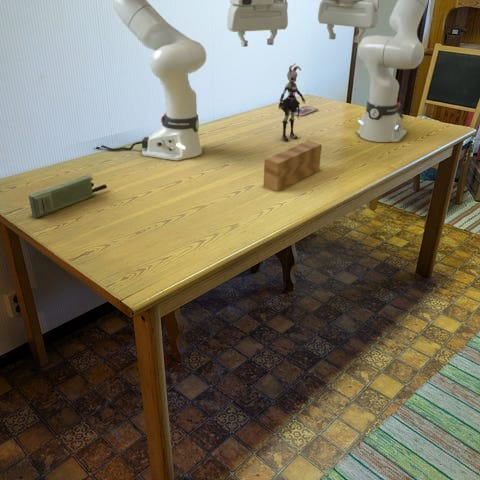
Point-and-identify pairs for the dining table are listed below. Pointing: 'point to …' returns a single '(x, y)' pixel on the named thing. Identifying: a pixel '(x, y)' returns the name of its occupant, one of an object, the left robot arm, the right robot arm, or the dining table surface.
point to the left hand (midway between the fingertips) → (257, 45)
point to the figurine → (290, 101)
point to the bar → (291, 165)
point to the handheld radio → (62, 195)
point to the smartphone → (305, 110)
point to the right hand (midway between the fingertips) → (344, 40)
